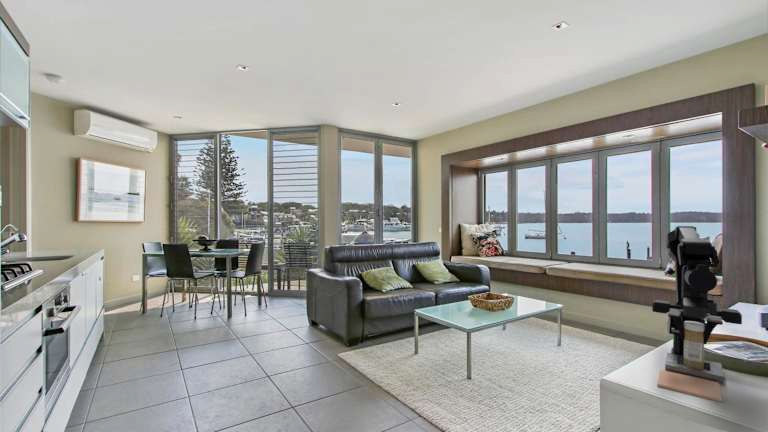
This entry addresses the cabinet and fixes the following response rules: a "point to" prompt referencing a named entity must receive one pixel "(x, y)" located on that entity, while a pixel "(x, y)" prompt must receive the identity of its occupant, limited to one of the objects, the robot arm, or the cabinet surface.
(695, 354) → the sprinkles bottle
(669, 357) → the collar stand
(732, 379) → the cabinet surface
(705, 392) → the terracotta tile
